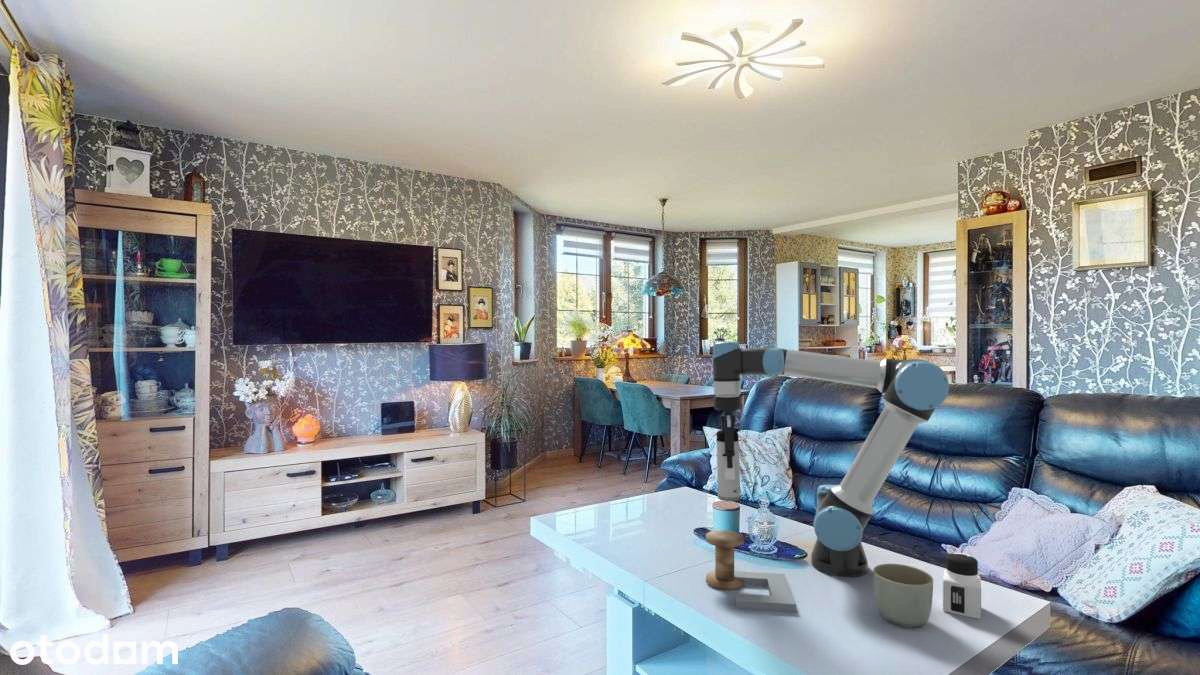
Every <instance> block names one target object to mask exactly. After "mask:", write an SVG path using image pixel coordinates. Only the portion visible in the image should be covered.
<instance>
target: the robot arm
mask: <svg viewBox="0 0 1200 675" xmlns="http://www.w3.org/2000/svg"><path fill="white" fill-rule="evenodd" d="M711 359H712V371H713V372H712V374H713V383H712V384H711V388H713V394H714V395H715V396H714V397H713V407H714V409H715V410H717V411H722V412H723V413H722V415H720V422H721V430H722V431H723V432H724V440H725V454H722V456H724V458H725V479H732V480H735V460H734V455H735V452H734V431H735V429H736V428H735V425H736V424H735V422H736V415H733V411H738V410H741V408H742V402H741V401H742V400H741V396H740V395H741V393H742V390H741V375H743V376H748V375H749V376H753V375H755V376H756V375H757V376H759V375H760V376H776V375H785V376H793V377H801V378H805V379H812V380H813V379H814V380H819V381H826V382H833V383H841V384H846V385H853V386H861V387H867V388H874V389H877V390H878V391H879V392H880V393H882V394H883V393H884V394H883V397H882V398H881V401H882V403H883V405H884V407H883V409H882V411H881V413H880V415H879V416H878V418H877V419H876V421H875V423H874V425H873V427H872V428H871V430H870V432H869V433H868V436H867V437H866V438H865V441H864V442H863V443H862V446H861V447H860V448H859V449H860V450H859V451H858V452H857V454H856V456H855V457H854V460H853V461H852V463H851V465H849V467H848V470H847V472H846V474H845V475H844V477H843V478H842V481H841V482H840V483H839V484H821V485H819V486H817V493H816V496H817V498H816V499H817V502H816V503H817V505H816V510H815V515H814V517H813V524H812V526H813V529H814V533H815V536H816V541H815V543H814V546H813V548H812V552H811V555H810V559H811V560H810V563H811V566H813V567H814V568H815V569H816V570H819V571H821V572H824V573H826V574H830V575H834V576H838V577H858V576H859V577H860V576H863V575H865V574H867V573H868V571H869V562H868V558H867V556H866V553H865V550H864V549H865V548H864V547H863V544H862V539H863V535H864V529H865V528H866V526H867V524H868V522H869V521H870V519H871V517H872V516H873V514H874V509H873V506H872V503H873V501H874V500H875V498H876V496H877V494H878V493H879V491H880V490H881V488H882V486H883V484H884V482H885V481H886V479H887V477H888V475H889V474H891V471H892V469H893V467H894V466H895V464H896V462H897V460H898V459H899V458H900V455H901V454H902V453H903V451H904V449H905V447H906V446H907V444H908V442H909V440H910V439H911V437H912V436H913V434H914V432H915V430H916V429H917V427H918V425H920V424H925V423H928V422H929V420H930V418H931V417H932V415H933V414H934V412H935V410H936V408H937V407H939V406H940V405H941V404H942V403H943V402H944V401H945V400H946V399H947V397H948V395H949V390H950V383H949V382H950V381H949V380H948V376H947V374H946V373H945V371H944V370H943V369H942V368H941V367H940V366H938V365H937V364H935V363H934V362H930V361H928V360H924V359H920V358H919V359H918V358H916V359H915V358H914V359H912V358H911V359H892V358H884V359H882V360H873V359H872V360H871V359H864V358H855V357H848V356H842V355H833V354H825V353H819V352H810V351H801V350H794V349H786V348H781V347H780V348H779V347H775V346H763V347H758V348H757V347H756V348H755V347H754V348H752V347H751V348H742V347H740V343H739V342H738V341H718V342H717V341H716V342H715V343H713V346H712V358H711Z"/></svg>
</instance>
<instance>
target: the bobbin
mask: <svg viewBox="0 0 1200 675" xmlns="http://www.w3.org/2000/svg"><path fill="white" fill-rule="evenodd" d="M744 538H745V537H744V535H743V534H741V533H739V532H737V531H732V530H727V529H726V530H724V529H719V530H718V529H717V530H711V531H708V532H706V534H705V541H706V543H708V544H709V545H711V546H714V547H715V548H714V549H715V551H714V552H715V555H714V556H715V560H714V562H715V563H714V564H715V566H714V567H715V569H714V570H712V571H709V572H707V574H706V575H705V582H706V585H708V586H709V587H711V588H714V589H717V590H721V591H736V590H740V589H741V588H743V587H744V586H745V585H744V580H734V571H735V548H737V547H741V546H742V545H744V543H745V542H744V541H745V540H744Z"/></svg>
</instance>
